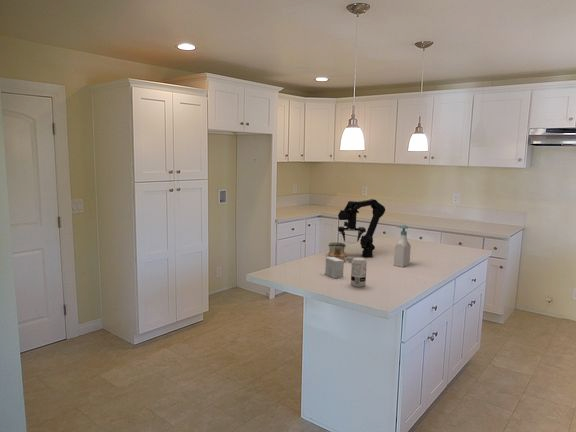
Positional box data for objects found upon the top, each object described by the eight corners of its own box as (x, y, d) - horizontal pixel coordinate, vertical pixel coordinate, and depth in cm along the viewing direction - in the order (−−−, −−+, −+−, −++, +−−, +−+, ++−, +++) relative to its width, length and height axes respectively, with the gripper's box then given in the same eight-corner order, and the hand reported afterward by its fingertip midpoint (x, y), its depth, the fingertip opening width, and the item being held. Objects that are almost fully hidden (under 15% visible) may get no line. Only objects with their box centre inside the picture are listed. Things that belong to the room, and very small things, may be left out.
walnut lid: (344, 253, 294) (344, 246, 294) (346, 257, 283) (347, 250, 283) (328, 253, 294) (328, 246, 293) (330, 256, 283) (330, 249, 282)
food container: (344, 256, 306) (345, 242, 304) (345, 258, 300) (345, 244, 298) (327, 255, 307) (328, 241, 306) (327, 257, 301) (328, 243, 299)
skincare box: (343, 277, 252) (344, 260, 250) (334, 278, 248) (335, 261, 247) (333, 272, 261) (334, 256, 259) (324, 274, 257) (325, 257, 256)
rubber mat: (362, 259, 296) (362, 259, 296) (366, 264, 284) (366, 263, 284) (345, 259, 296) (345, 258, 296) (348, 263, 284) (348, 263, 284)
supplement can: (349, 282, 241) (350, 257, 239) (363, 282, 241) (364, 257, 239) (352, 287, 233) (353, 260, 231) (367, 287, 233) (368, 260, 231)
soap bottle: (398, 262, 292) (400, 223, 288) (409, 264, 287) (412, 224, 283) (391, 265, 283) (393, 225, 279) (402, 267, 278) (405, 226, 274)
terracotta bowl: (342, 260, 294) (343, 253, 293) (344, 263, 285) (345, 256, 284) (329, 259, 294) (330, 253, 293) (331, 263, 285) (331, 256, 284)
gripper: (363, 218, 300) (361, 239, 302) (337, 217, 299) (336, 239, 302) (366, 220, 289) (365, 242, 291) (339, 219, 288) (338, 242, 291)
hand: (351, 241), depth 294 cm, fingers open, 9 cm apart
